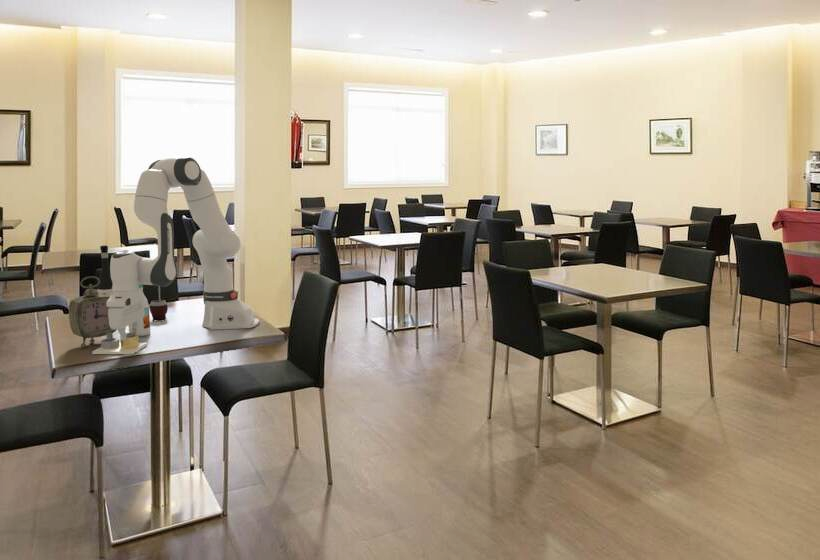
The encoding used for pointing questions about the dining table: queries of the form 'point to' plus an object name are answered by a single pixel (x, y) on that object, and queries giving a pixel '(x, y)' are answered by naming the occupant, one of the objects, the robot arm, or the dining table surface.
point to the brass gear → (130, 342)
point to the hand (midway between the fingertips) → (129, 336)
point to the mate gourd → (158, 308)
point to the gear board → (119, 350)
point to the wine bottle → (105, 274)
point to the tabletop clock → (89, 314)
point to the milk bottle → (145, 321)
